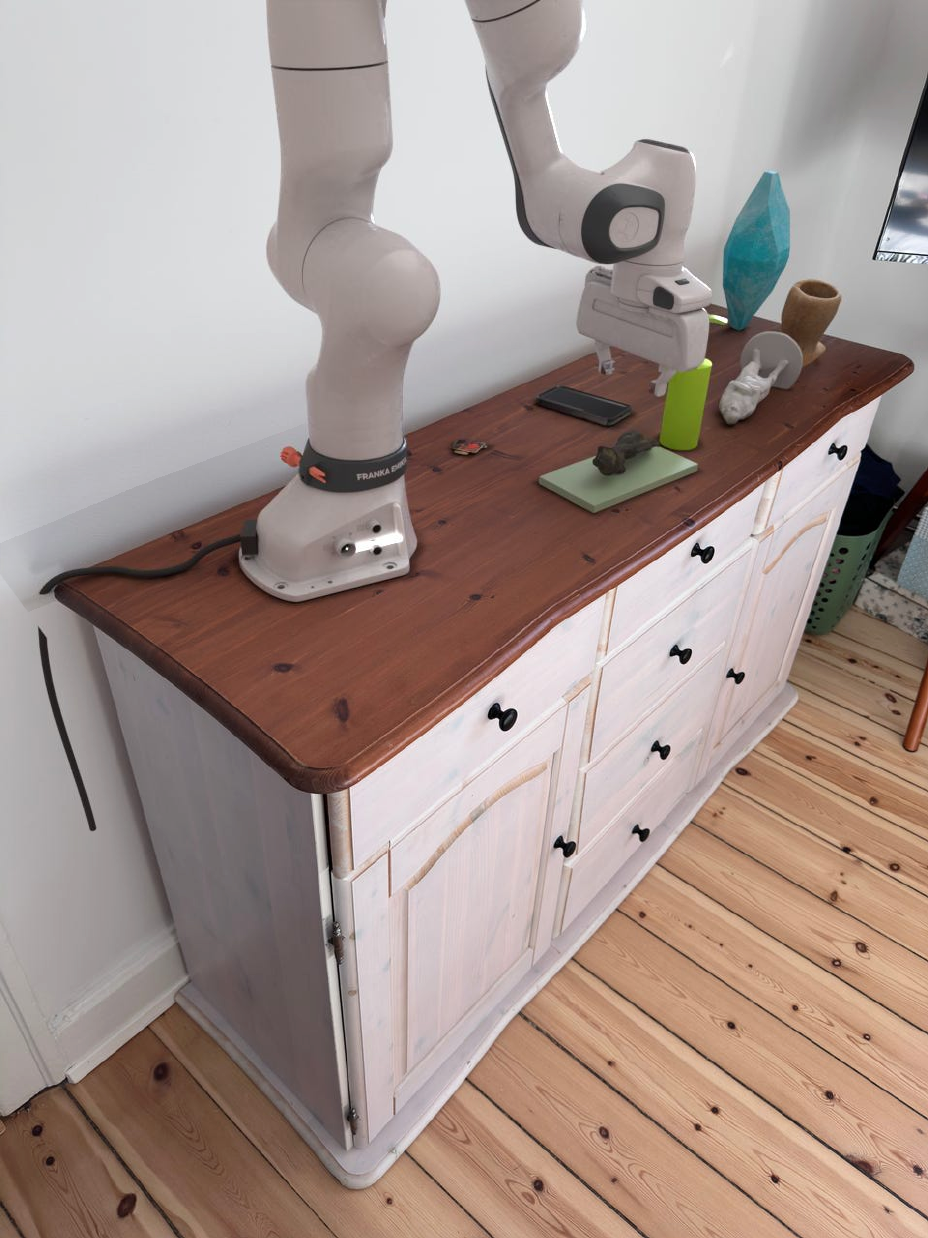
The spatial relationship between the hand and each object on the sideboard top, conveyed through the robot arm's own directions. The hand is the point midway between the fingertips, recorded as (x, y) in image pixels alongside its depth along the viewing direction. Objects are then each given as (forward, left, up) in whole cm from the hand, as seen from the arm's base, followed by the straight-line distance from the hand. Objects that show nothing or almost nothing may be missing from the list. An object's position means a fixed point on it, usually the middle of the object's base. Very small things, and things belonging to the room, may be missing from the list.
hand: (630, 383), depth 127 cm
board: (0, 0, -14) cm, 14 cm away
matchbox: (-12, +20, -14) cm, 28 cm away
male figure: (+39, +7, -15) cm, 43 cm away
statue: (0, 0, -13) cm, 13 cm away
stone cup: (+65, +14, -15) cm, 68 cm away
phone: (+14, +21, -14) cm, 29 cm away
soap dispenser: (+17, +2, -15) cm, 23 cm away
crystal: (+73, +33, -15) cm, 82 cm away
